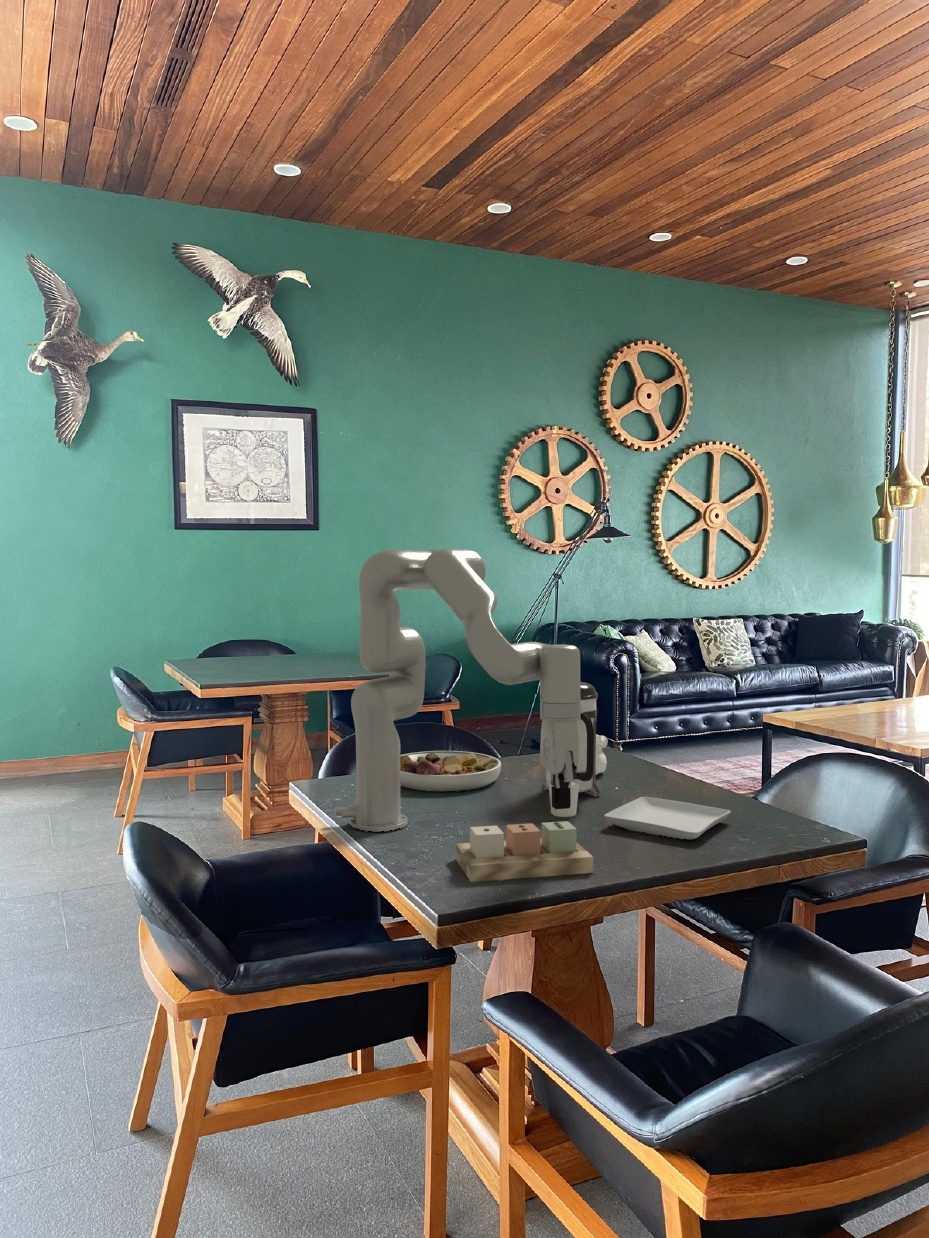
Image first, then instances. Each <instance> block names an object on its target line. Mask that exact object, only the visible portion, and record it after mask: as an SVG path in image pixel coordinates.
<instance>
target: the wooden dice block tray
mask: <svg viewBox="0 0 929 1238" xmlns="http://www.w3.org/2000/svg"><path fill="white" fill-rule="evenodd" d="M455 861H456V862H457V863H458V865H459V866H460V868H461V870H462V871H463V872H464V874H465V875H466V877H467V879H469V881H470V883H475V882H485V881H486V882H489V881H500V880H503V881H504V880H516V879H517V880H518V879H526V878H527V879H528V878H529V879H530V878H541V877H542V878H543V877H554V876H556V877H557V876H568V875H580V874H581V875H582V874H583V875H584V874H593V873H594V856H593V855H592V854H591V853H590V852H588V850H587V849H585V848H584V847H583V846H582V845H581V844H580V843H578V842H577V841H576V852H564V853H550V854H548V853H547V852H546V851H545V850H544V849H543V848H542V847H541V841H540V854H536V855H521V856H511V855H510V853H509V852H508V851H507V850H506V839H504V857H492V858H478V859H474V857H473V856H472V854H471V853H470V842H461V843H455Z"/></svg>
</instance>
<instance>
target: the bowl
mask: <svg viewBox="0 0 929 1238" xmlns="http://www.w3.org/2000/svg"><path fill="white" fill-rule="evenodd" d="M501 770H502V762H501V760H500V759H499V758H496V757H494V756H491V755H488V754H484V753H479V752H472V751H471V752H470V751H462V750H461V751H459V750H427V751H418V752H409V753H404V754H400V784H401V787H402V786H404V787H409V788H413V789H418V790H417V791H419V790H430V791H456V792H460V791H459V790H466V791H472V790H471V789H473V790H476V788H477V789H480V787H481V788H484V787H486V786H489V785H491V784H493V782H495V781H496V779H498V777H499V776H500V774H501ZM404 787H403V788H404Z"/></svg>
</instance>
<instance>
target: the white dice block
mask: <svg viewBox="0 0 929 1238" xmlns="http://www.w3.org/2000/svg"><path fill="white" fill-rule="evenodd" d="M504 841H505V833H504V832H503V831H502V829H501V828H500V827H499V826H498V825H486V826H470V827H469V843H470V853H471V854H472V856H473V857H474V859H478V858H492V857H504Z"/></svg>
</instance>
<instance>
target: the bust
mask: <svg viewBox="0 0 929 1238" xmlns="http://www.w3.org/2000/svg"><path fill="white" fill-rule="evenodd" d="M608 741H609V740H608V738H607V737H606V736H604V735H602V734H601V735H599V734H596V775H595V776H597V775H599V774H602V773H603V772H605V771H606V769H607V764H608V762H607V757H606V755H605V753H604V751H603V750H602V749H604V748H606V747H607V746H608V743H609V742H608Z"/></svg>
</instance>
